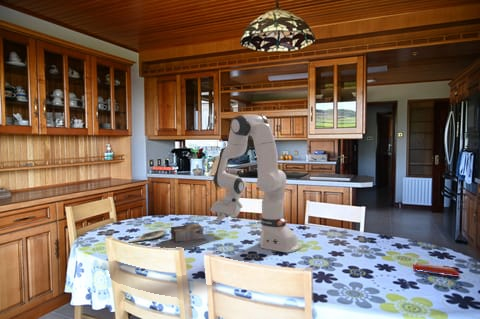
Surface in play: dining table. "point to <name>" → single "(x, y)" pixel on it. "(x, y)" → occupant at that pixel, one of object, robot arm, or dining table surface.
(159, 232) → the spoon
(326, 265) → the dining table surface
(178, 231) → the coffee box
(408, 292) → the dining table surface
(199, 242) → the rubber mat
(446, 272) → the sausage
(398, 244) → the dining table surface
